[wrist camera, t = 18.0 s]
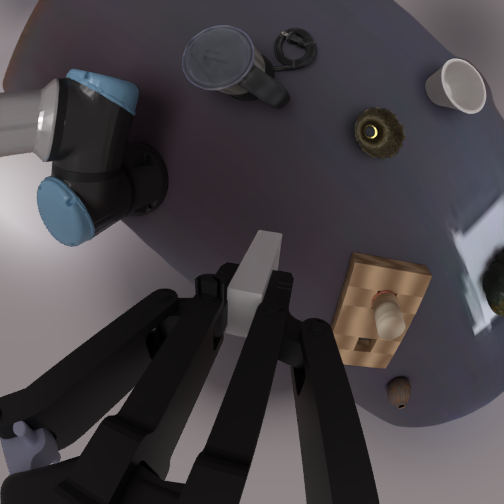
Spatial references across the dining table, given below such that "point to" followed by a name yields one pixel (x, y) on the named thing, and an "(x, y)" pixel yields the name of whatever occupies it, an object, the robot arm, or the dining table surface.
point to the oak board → (361, 312)
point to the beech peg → (388, 315)
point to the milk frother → (241, 63)
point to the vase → (399, 392)
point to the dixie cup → (457, 87)
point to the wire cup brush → (379, 133)
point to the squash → (495, 285)
